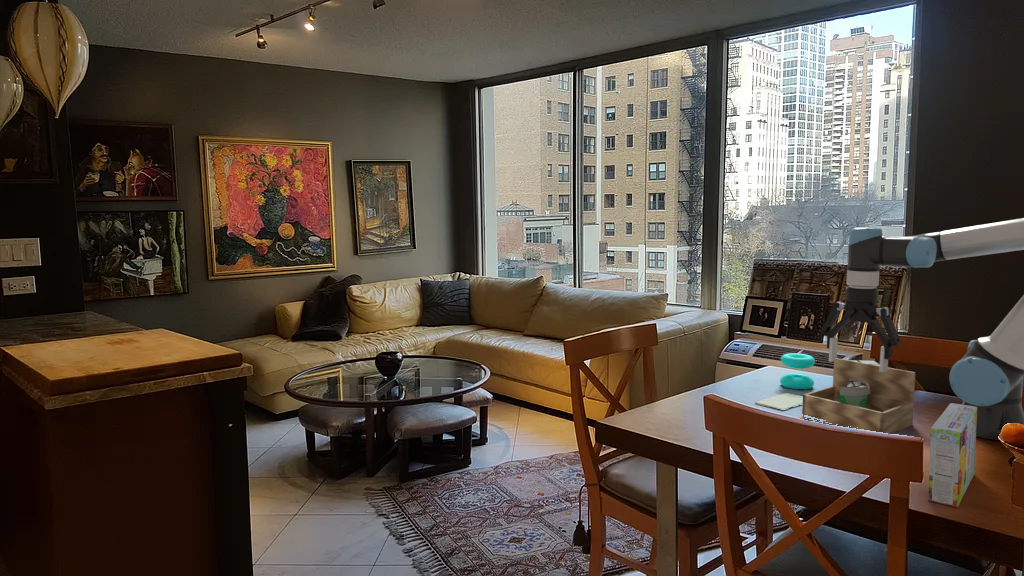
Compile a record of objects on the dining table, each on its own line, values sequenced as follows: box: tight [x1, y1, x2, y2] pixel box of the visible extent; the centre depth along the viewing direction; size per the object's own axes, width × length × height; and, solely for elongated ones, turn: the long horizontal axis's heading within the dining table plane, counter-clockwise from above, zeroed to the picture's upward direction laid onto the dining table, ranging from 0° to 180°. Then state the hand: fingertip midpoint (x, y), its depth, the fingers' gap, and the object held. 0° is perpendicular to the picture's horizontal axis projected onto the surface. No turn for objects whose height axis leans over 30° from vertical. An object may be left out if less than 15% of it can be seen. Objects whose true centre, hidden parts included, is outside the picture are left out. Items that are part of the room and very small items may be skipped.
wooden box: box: [797, 357, 916, 434], centre depth 179 cm, size 22×22×14 cm
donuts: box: [779, 352, 816, 390], centre depth 215 cm, size 10×10×10 cm
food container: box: [840, 378, 870, 408], centre depth 181 cm, size 12×6×10 cm, turn 143°
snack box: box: [927, 402, 977, 508], centre depth 138 cm, size 21×6×15 cm, turn 139°
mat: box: [754, 392, 803, 409], centre depth 199 cm, size 9×16×1 cm, turn 125°
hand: (857, 365), depth 180 cm, fingers open, 13 cm apart
